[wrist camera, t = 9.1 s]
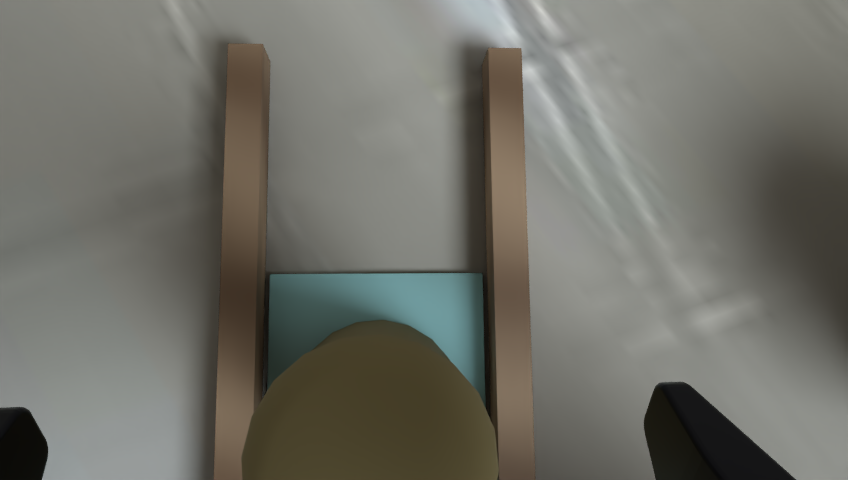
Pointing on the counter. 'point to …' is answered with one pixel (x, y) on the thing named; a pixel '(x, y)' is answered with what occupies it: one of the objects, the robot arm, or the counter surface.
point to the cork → (371, 413)
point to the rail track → (374, 276)
